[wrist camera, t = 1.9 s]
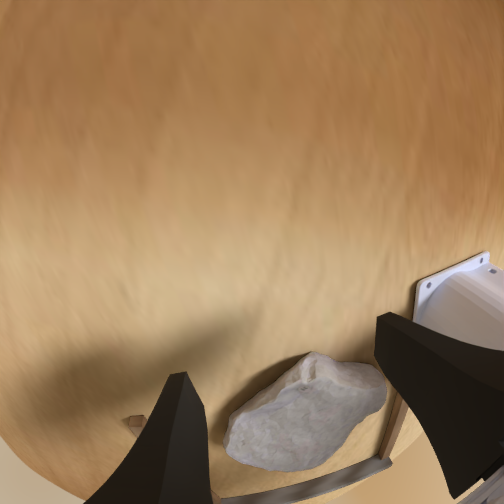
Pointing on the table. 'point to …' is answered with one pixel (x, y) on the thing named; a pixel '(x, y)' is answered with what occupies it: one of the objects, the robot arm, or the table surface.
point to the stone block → (304, 414)
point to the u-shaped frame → (281, 499)
